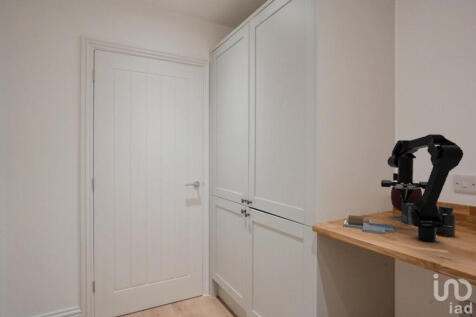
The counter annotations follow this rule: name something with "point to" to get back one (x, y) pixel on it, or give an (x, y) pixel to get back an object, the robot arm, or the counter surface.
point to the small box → (407, 213)
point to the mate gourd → (397, 200)
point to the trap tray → (372, 227)
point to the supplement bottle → (446, 221)
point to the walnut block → (355, 220)
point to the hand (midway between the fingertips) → (404, 204)
